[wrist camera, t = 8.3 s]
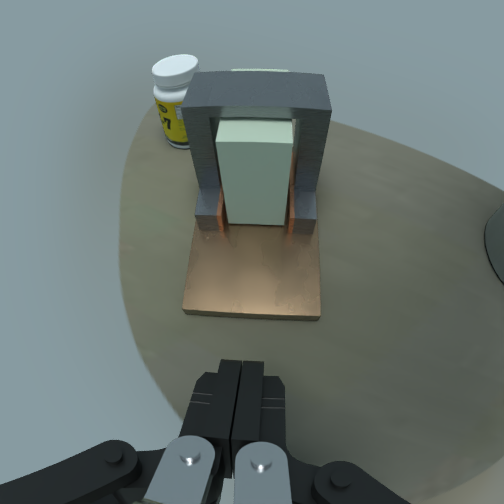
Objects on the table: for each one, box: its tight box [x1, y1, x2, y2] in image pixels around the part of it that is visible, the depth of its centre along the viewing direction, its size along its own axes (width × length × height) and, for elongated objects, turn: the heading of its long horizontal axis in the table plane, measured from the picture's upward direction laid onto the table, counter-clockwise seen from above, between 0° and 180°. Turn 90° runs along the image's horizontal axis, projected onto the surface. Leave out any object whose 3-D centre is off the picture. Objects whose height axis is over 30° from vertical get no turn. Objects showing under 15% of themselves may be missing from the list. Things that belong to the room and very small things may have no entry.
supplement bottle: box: [152, 54, 200, 148], centre depth 26 cm, size 5×5×8 cm
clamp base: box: [180, 71, 332, 321], centre depth 20 cm, size 15×9×10 cm, turn 177°
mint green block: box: [216, 69, 293, 225], centre depth 21 cm, size 8×4×8 cm, turn 177°
